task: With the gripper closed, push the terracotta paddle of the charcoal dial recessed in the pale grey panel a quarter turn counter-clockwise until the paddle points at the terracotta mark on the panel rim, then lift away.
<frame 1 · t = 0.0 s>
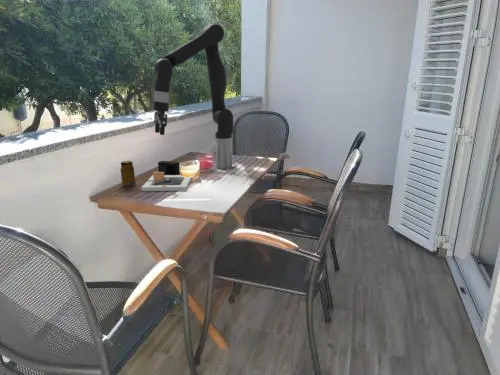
hand: (159, 133, 179), 22 cm above the table, tool pointing down, fingers open, 8 cm apart
dial: (166, 178, 168), point 4 cm above the table, hinge at 0.0°
condiment: (131, 186, 169), on the table
panel: (168, 185, 169), on the table
digital camera: (168, 175, 189), on the table
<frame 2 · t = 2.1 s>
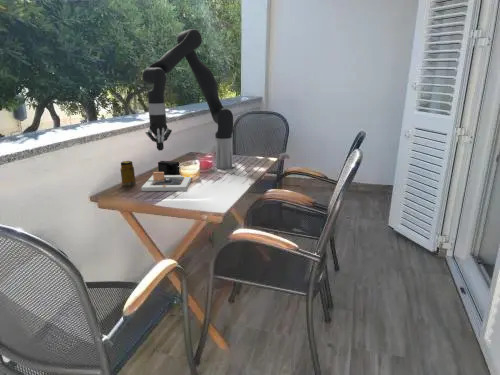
hand: (160, 150, 168), 17 cm above the table, tool pointing down, fingers closed
nothing on the table moved.
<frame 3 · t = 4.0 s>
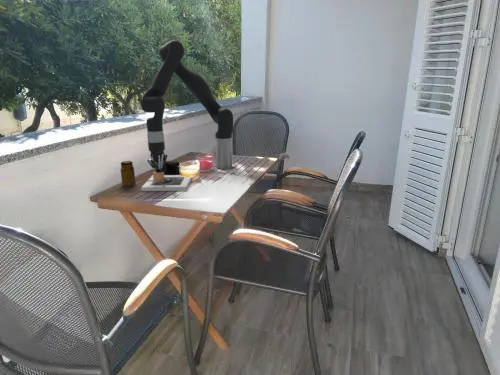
hand: (159, 175, 171), 4 cm above the table, tool pointing down, fingers closed
dial: (166, 178, 168), point 4 cm above the table, hinge at 1.7°, touching gripper
everything else where it was.
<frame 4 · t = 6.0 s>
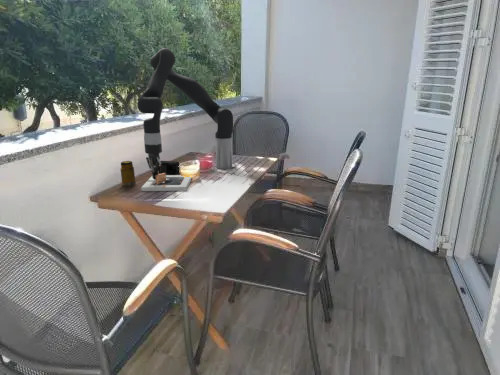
hand: (155, 178, 166), 4 cm above the table, tool pointing down, fingers closed
dial: (166, 178, 168), point 4 cm above the table, hinge at 53.2°, touching gripper
everything else where it was.
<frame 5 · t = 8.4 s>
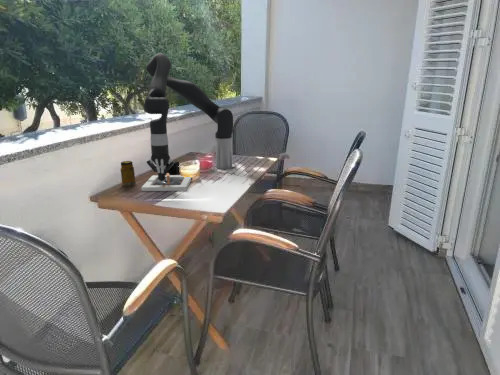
hand: (162, 180, 163), 4 cm above the table, tool pointing down, fingers closed
dial: (168, 178, 168), point 4 cm above the table, hinge at 103.6°, touching gripper
everything else where it was.
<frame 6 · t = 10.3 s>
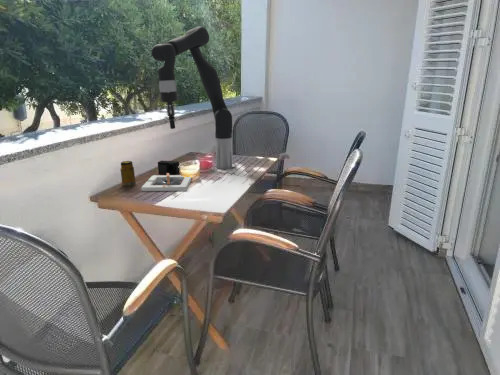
hand: (172, 128, 167), 27 cm above the table, tool pointing down, fingers closed
dial: (168, 178, 168), point 4 cm above the table, hinge at 103.6°
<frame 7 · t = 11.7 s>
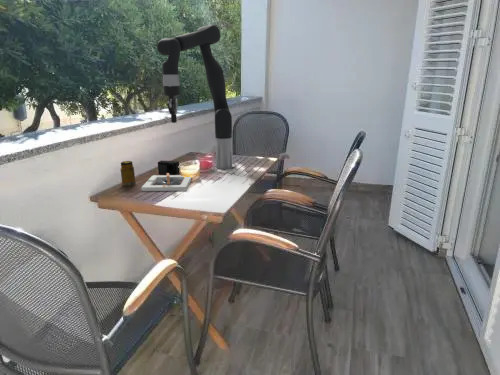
hand: (174, 122, 169), 29 cm above the table, tool pointing down, fingers closed
at the end: dial at +104° (first picture: +0°); dial touching nothing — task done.
